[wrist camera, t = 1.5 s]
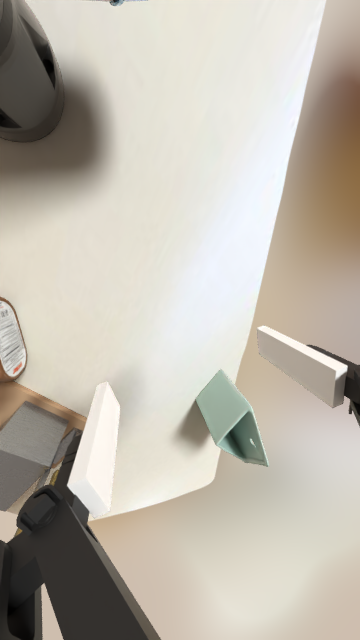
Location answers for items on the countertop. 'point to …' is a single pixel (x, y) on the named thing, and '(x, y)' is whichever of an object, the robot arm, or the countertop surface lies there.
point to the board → (11, 395)
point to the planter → (231, 420)
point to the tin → (10, 343)
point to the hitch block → (30, 449)
